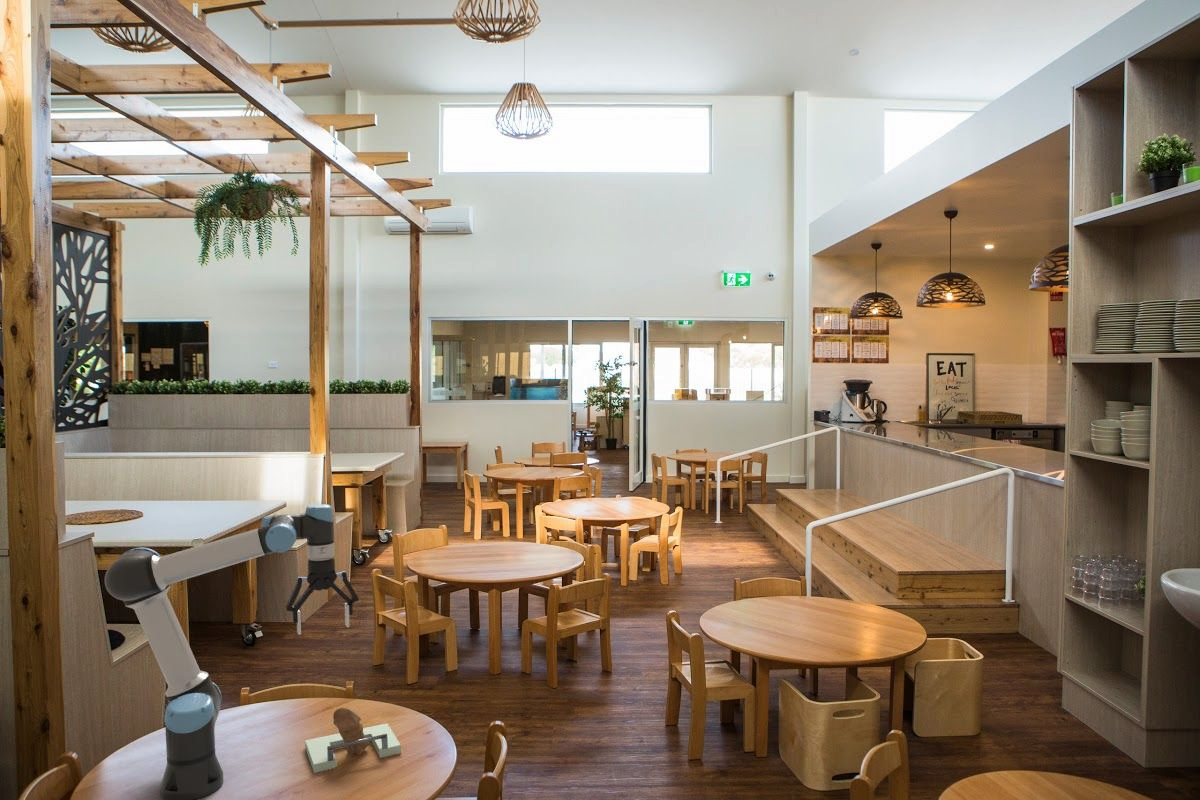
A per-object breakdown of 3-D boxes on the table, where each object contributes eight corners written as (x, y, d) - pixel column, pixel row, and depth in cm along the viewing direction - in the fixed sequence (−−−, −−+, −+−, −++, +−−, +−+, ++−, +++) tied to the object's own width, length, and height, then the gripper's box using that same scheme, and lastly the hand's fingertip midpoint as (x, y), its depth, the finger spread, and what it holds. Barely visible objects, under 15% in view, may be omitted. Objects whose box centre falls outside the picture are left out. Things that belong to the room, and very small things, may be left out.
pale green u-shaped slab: (314, 772, 231) (313, 764, 231) (305, 748, 246) (305, 740, 246) (401, 753, 242) (400, 744, 242) (387, 730, 257) (387, 723, 257)
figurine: (370, 748, 245) (368, 697, 245) (358, 761, 237) (357, 709, 237) (343, 747, 246) (341, 696, 246) (330, 760, 238) (328, 708, 238)
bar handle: (328, 761, 232) (327, 747, 232) (327, 759, 234) (327, 745, 233) (387, 748, 240) (387, 734, 240) (386, 746, 241) (386, 732, 241)
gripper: (277, 565, 236) (279, 640, 237) (367, 555, 248) (369, 626, 248) (274, 560, 243) (276, 632, 244) (362, 550, 254) (364, 619, 255)
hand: (323, 629), depth 246 cm, fingers open, 13 cm apart
